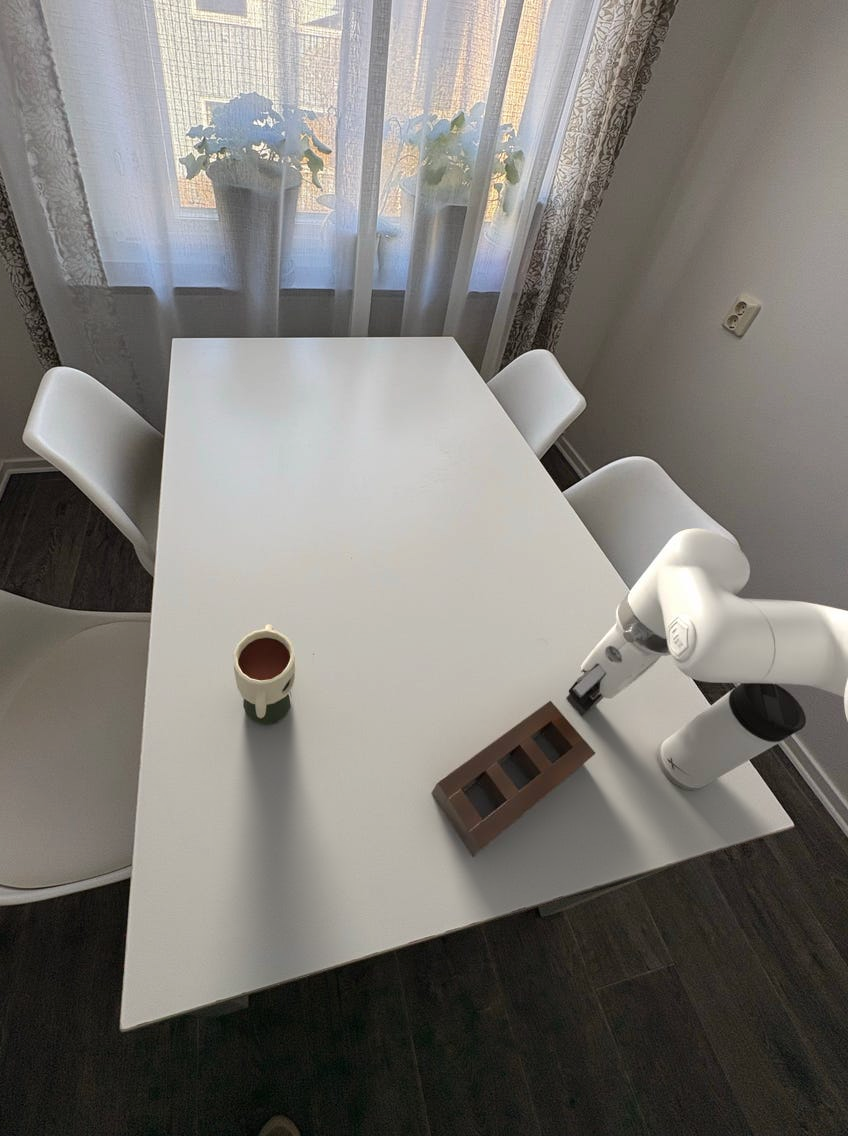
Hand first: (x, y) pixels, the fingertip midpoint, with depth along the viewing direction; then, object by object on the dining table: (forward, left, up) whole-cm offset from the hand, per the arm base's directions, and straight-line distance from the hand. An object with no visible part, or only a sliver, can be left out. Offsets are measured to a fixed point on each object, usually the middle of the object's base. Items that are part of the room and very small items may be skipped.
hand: (591, 690), depth 72 cm
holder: (-2, +16, -4) cm, 17 cm away
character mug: (+22, +38, -4) cm, 44 cm away
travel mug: (-13, -5, -4) cm, 14 cm away
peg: (0, 0, -4) cm, 4 cm away
